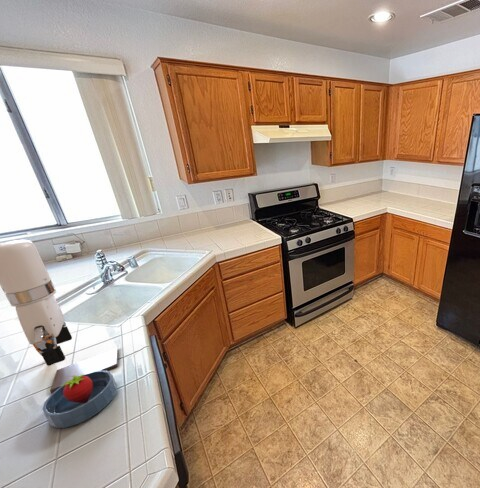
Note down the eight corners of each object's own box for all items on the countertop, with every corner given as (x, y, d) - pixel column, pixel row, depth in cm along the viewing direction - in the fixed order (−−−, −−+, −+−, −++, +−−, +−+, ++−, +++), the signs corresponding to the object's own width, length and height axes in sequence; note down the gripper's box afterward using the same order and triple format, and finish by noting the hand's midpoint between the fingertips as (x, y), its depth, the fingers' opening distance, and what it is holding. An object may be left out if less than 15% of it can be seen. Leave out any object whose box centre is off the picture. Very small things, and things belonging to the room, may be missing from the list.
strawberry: (73, 418, 69) (58, 389, 66) (69, 402, 74) (55, 375, 70) (101, 402, 73) (88, 374, 70) (95, 388, 78) (83, 361, 75)
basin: (44, 441, 64) (36, 426, 63) (56, 400, 75) (49, 387, 74) (117, 407, 72) (111, 393, 70) (118, 375, 83) (113, 362, 82)
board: (51, 393, 78) (49, 390, 78) (58, 372, 86) (56, 370, 85) (117, 366, 87) (116, 363, 86) (118, 350, 94) (117, 347, 94)
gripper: (20, 285, 66) (48, 340, 72) (-7, 314, 53) (30, 380, 58) (60, 275, 70) (84, 329, 76) (44, 301, 57) (74, 363, 62)
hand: (60, 351), depth 67 cm, fingers open, 9 cm apart
